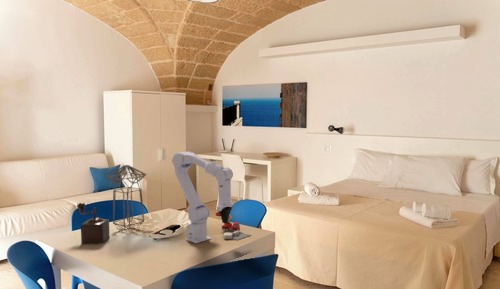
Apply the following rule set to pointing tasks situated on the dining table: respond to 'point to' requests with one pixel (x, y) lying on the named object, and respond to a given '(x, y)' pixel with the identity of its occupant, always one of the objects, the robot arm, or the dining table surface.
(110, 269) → the dining table surface
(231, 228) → the red flower sprig
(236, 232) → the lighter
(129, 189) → the geometric lantern
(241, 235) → the mat
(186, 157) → the robot arm
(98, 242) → the coffee grinder
